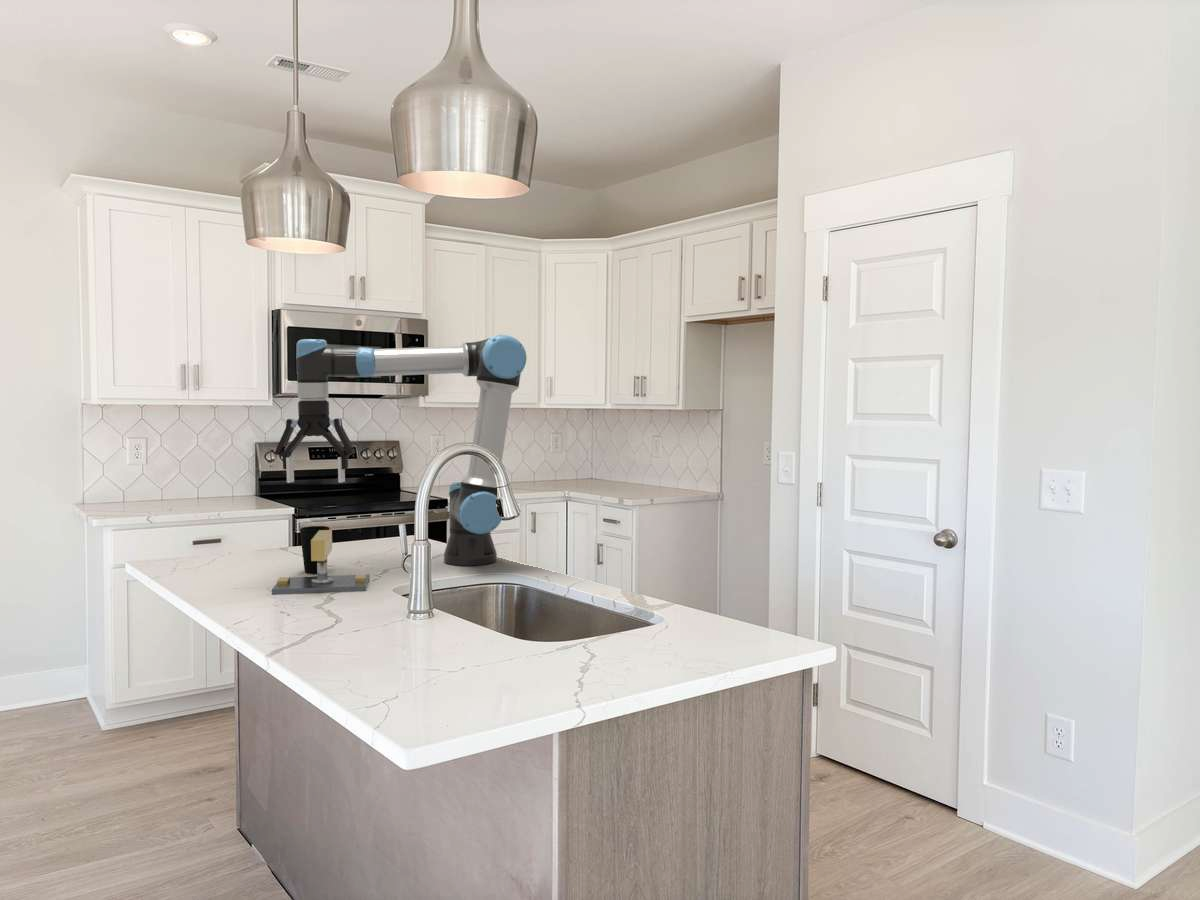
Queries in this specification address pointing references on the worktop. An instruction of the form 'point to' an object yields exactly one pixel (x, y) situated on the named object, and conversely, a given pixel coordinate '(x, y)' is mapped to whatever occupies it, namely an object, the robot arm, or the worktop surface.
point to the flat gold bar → (321, 545)
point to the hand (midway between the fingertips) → (316, 482)
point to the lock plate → (321, 583)
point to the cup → (309, 547)
